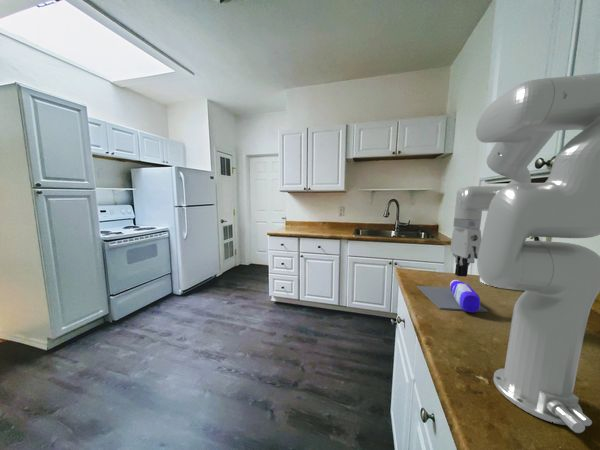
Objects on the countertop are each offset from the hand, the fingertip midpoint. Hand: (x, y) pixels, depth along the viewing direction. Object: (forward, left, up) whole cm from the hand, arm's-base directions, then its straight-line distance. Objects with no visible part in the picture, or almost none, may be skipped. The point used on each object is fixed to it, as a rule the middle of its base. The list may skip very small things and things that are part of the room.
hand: (460, 275), depth 83 cm
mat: (+8, -1, -12) cm, 15 cm away
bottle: (-5, -1, -8) cm, 10 cm away
